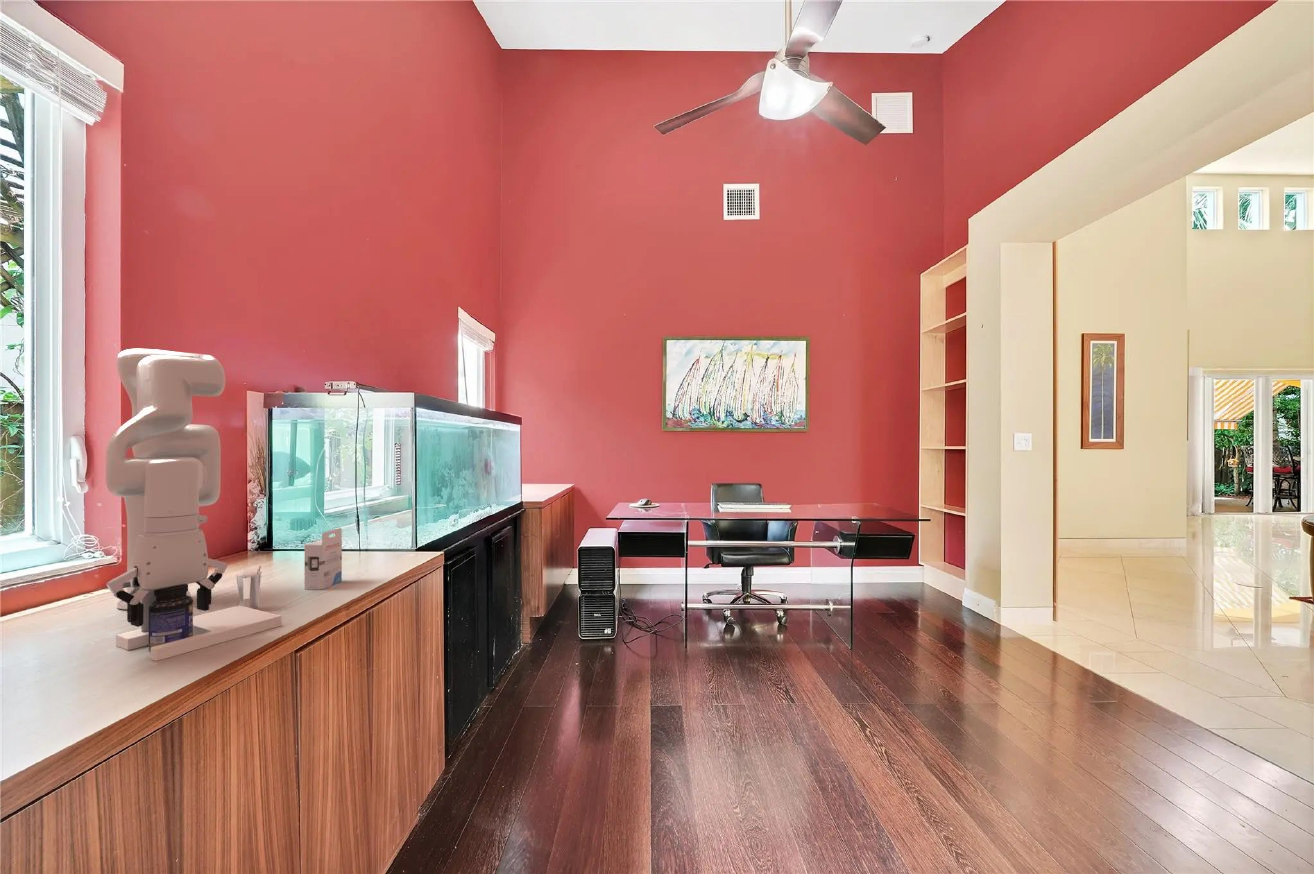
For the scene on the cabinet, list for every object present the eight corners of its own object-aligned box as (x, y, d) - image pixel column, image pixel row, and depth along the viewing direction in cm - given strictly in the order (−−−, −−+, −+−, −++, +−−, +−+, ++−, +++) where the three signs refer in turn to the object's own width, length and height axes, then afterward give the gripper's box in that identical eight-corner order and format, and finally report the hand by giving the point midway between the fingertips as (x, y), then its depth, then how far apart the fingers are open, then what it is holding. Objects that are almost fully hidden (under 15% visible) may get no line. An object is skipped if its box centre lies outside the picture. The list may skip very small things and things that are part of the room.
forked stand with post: (115, 645, 98) (116, 580, 99) (239, 614, 116) (240, 559, 117) (155, 661, 91) (156, 591, 91) (281, 625, 109) (281, 567, 109)
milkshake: (250, 613, 117) (250, 568, 117) (230, 612, 118) (231, 567, 118) (269, 607, 122) (269, 563, 122) (250, 605, 123) (250, 562, 123)
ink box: (324, 581, 145) (324, 527, 145) (342, 581, 145) (342, 527, 145) (303, 590, 136) (303, 532, 136) (322, 590, 136) (322, 532, 136)
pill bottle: (198, 643, 99) (198, 584, 100) (155, 654, 94) (156, 592, 94) (185, 637, 102) (185, 580, 103) (142, 648, 97) (143, 588, 97)
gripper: (217, 518, 108) (216, 602, 108) (99, 530, 93) (98, 628, 92) (236, 520, 105) (236, 607, 104) (117, 533, 89) (116, 635, 89)
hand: (171, 617), depth 98 cm, fingers open, 9 cm apart
